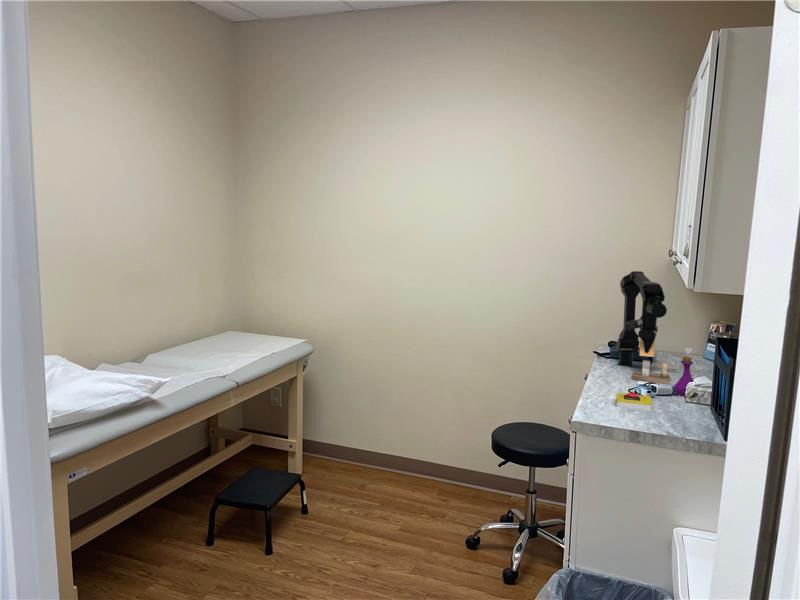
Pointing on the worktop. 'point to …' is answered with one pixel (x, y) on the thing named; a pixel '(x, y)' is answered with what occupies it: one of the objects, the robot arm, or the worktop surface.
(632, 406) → the emergency button
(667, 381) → the wooden holder
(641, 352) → the kraft paper carton
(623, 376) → the worktop surface
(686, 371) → the perfume bottle
